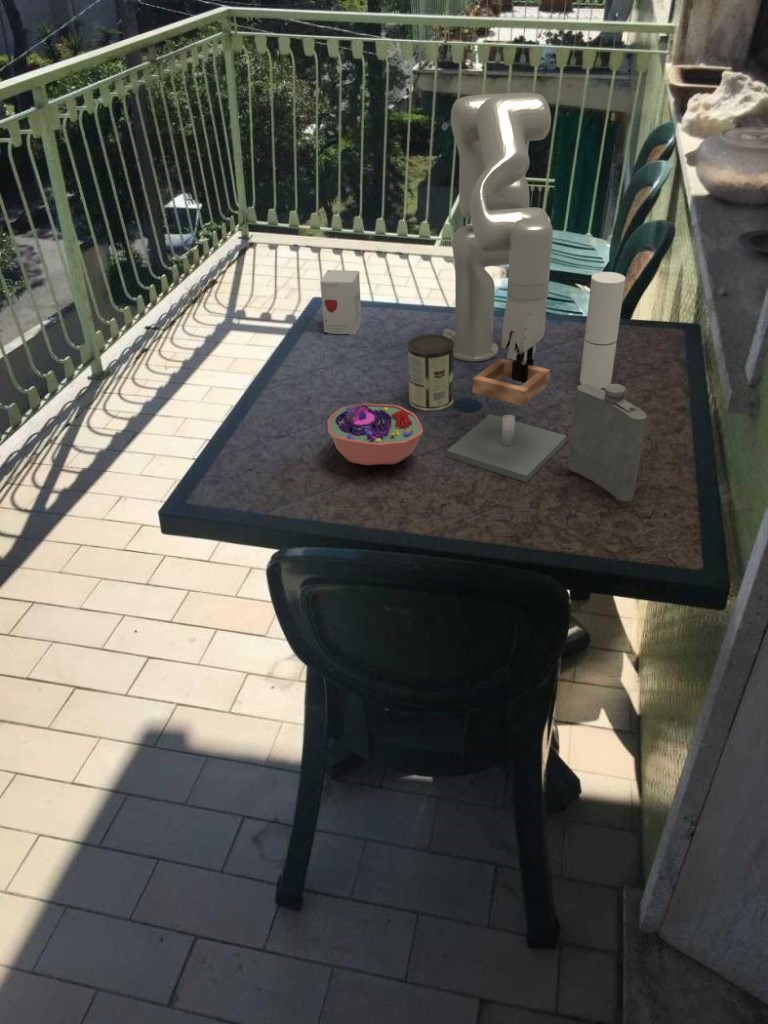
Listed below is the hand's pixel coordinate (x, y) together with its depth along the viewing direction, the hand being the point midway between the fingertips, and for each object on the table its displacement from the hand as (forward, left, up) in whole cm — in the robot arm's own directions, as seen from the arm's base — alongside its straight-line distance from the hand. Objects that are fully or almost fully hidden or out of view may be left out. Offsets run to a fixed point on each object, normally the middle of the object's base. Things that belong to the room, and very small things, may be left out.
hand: (522, 378), depth 162 cm
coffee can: (-25, +5, -15) cm, 30 cm away
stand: (0, -5, -14) cm, 15 cm away
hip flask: (+21, -6, -15) cm, 26 cm away
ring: (0, -5, 0) cm, 5 cm away
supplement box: (-68, +28, -15) cm, 75 cm away
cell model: (-21, -22, -15) cm, 34 cm away
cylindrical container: (+3, +33, -14) cm, 37 cm away
